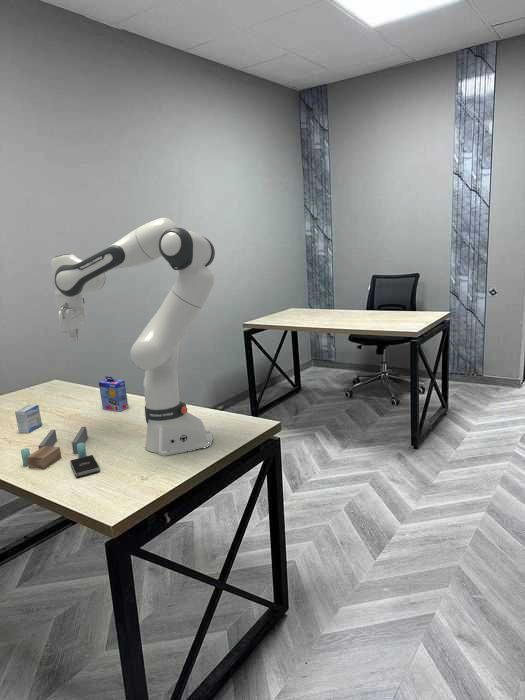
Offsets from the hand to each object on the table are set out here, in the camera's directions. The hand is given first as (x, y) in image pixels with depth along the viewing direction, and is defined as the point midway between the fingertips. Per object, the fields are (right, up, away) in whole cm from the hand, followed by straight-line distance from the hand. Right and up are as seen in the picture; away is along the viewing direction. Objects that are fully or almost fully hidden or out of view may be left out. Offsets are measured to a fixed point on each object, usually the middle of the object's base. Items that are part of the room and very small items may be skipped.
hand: (75, 340), depth 170 cm
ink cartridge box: (+5, -28, +31) cm, 42 cm away
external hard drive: (+12, -40, -23) cm, 48 cm away
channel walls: (-1, -36, -6) cm, 37 cm away
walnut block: (-3, -39, -17) cm, 43 cm away
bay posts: (0, -39, -17) cm, 42 cm away
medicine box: (-22, -34, +13) cm, 42 cm away
